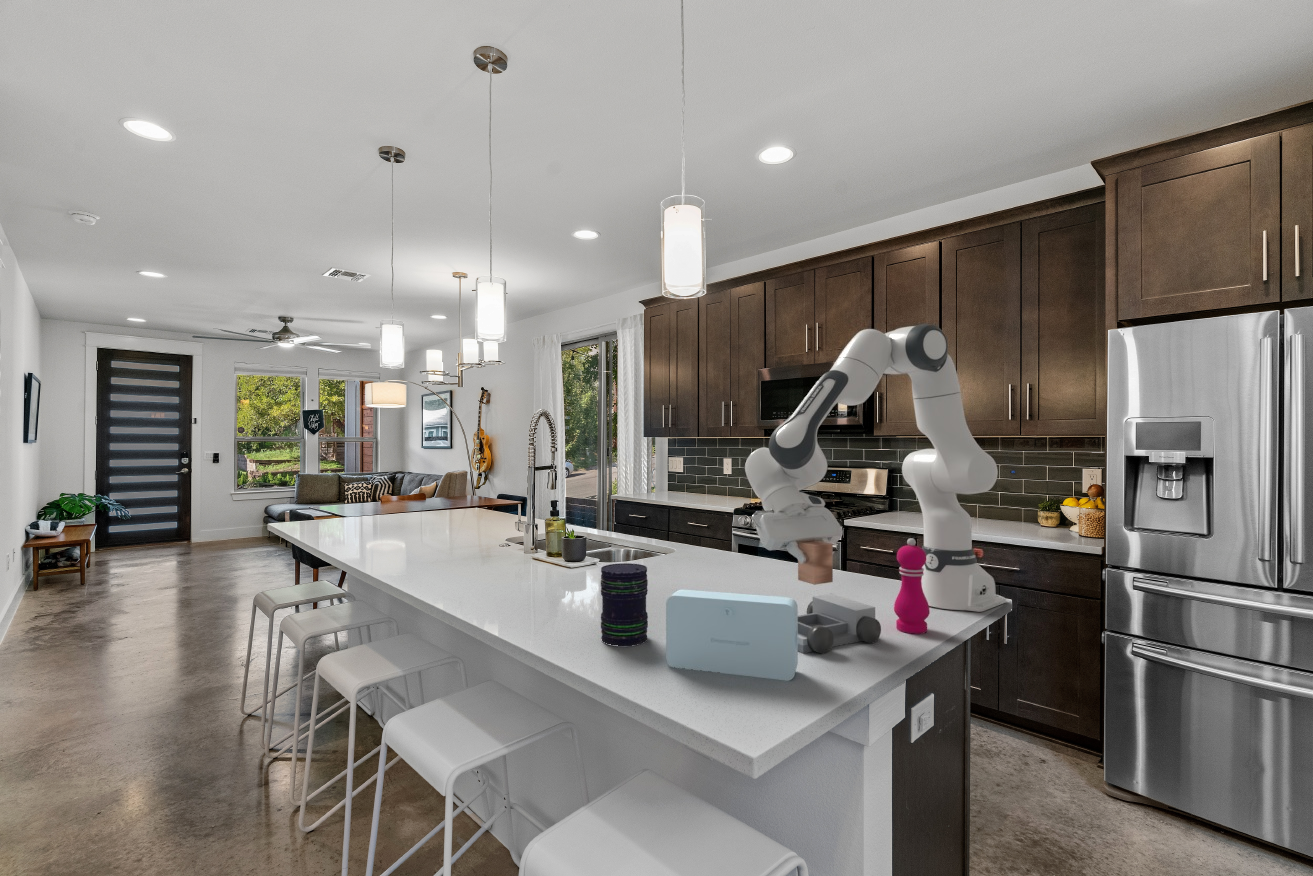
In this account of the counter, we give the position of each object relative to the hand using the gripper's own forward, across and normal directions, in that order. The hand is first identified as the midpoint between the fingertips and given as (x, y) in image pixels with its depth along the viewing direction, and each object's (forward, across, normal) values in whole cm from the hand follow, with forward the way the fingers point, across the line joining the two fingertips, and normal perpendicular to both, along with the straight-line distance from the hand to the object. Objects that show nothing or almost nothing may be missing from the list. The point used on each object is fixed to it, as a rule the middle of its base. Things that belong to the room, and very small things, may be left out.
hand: (817, 560), depth 133 cm
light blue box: (+16, -26, +7) cm, 31 cm away
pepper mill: (+15, +22, +8) cm, 28 cm away
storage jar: (-2, -36, +25) cm, 44 cm away
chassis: (+11, +1, +12) cm, 16 cm away
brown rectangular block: (+3, 0, +4) cm, 4 cm away
